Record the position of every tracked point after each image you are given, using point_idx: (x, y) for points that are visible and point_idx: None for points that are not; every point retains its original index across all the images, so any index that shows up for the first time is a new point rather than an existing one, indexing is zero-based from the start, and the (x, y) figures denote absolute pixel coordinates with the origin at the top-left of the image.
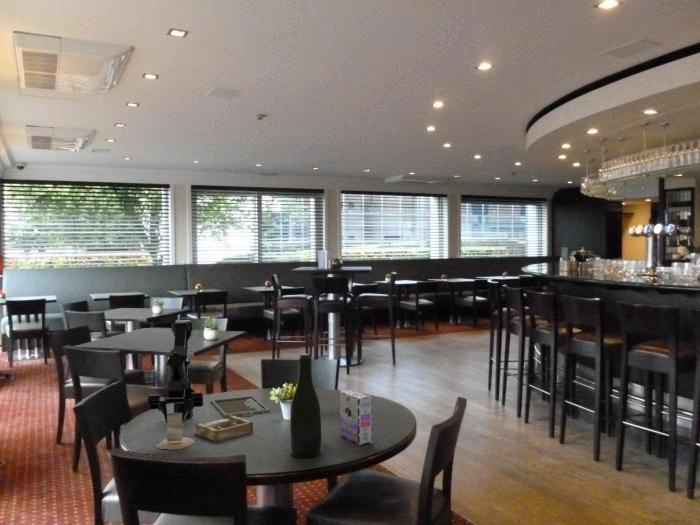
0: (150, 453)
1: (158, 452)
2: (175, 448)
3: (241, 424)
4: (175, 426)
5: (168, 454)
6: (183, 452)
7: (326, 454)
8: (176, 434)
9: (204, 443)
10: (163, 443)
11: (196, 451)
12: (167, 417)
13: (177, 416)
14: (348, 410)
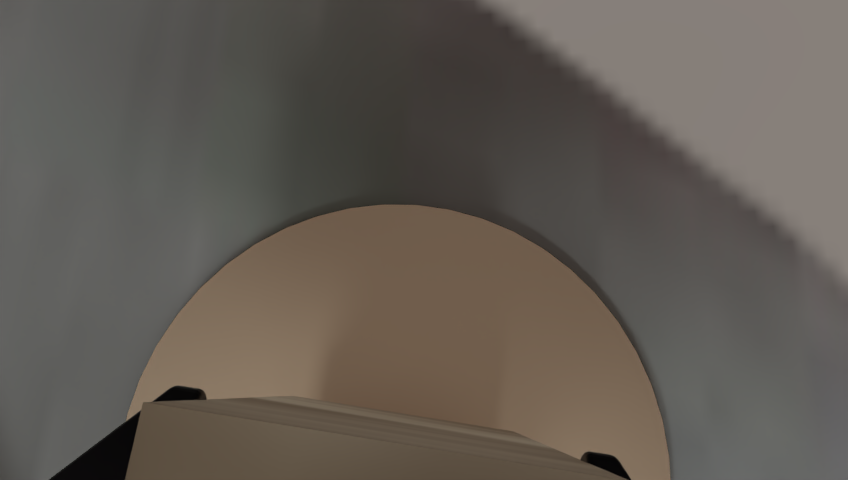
0: (717, 189)
1: (621, 190)
2: (408, 223)
3: None
4: (377, 421)
5: (502, 72)
6: (323, 77)
7: None
8: (369, 412)
9: (6, 335)
10: None
11: (169, 55)
12: (601, 473)
13: (296, 426)
14: None
